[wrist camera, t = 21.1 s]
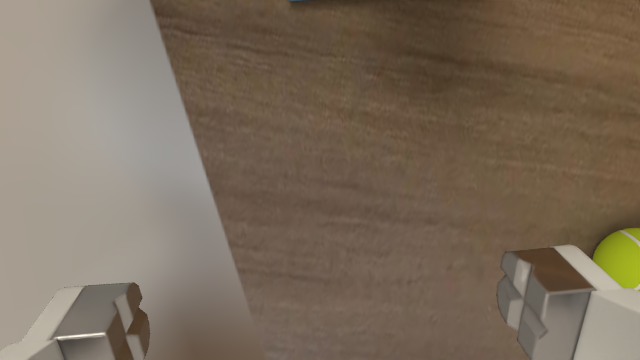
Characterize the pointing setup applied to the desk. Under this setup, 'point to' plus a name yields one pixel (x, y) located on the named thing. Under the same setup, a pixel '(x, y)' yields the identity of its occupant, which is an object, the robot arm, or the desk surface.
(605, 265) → the tennis ball
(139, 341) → the robot arm
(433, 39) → the desk surface
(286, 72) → the desk surface
